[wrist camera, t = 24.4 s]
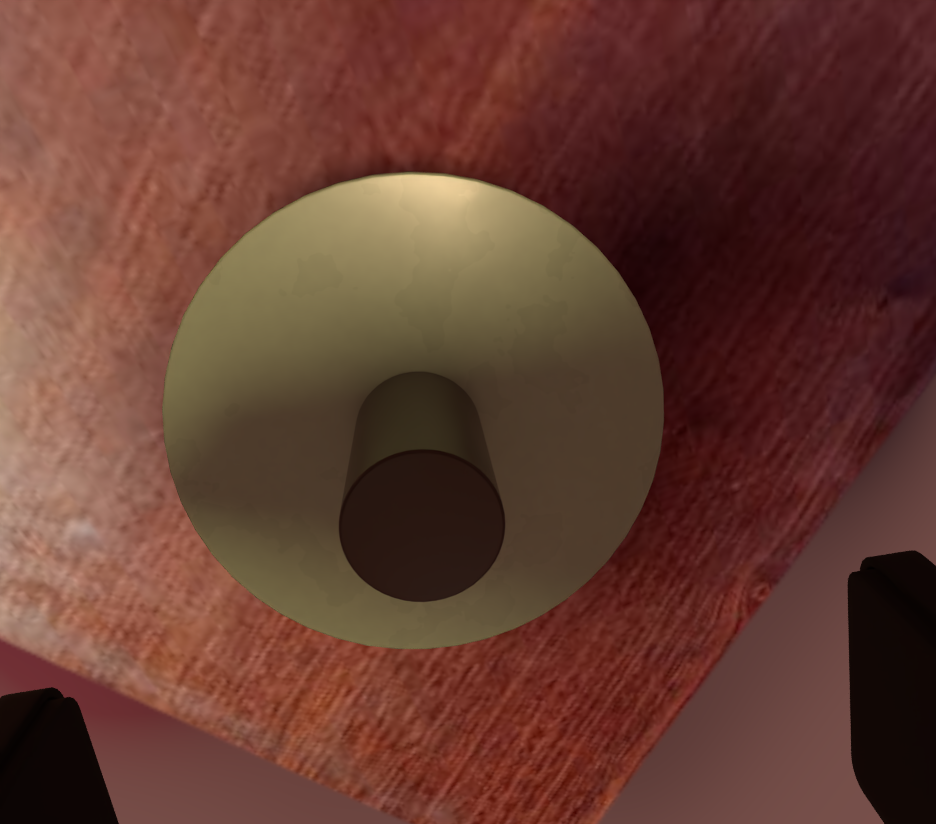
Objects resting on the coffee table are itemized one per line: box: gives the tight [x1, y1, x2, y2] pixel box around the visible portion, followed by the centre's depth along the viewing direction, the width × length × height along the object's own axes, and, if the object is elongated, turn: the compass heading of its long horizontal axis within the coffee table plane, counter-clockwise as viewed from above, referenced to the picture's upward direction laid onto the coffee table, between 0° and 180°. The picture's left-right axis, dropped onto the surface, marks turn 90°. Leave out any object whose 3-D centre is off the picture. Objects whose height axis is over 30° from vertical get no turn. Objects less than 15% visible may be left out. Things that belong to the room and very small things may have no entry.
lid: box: [162, 171, 664, 649], centre depth 19 cm, size 12×12×7 cm
